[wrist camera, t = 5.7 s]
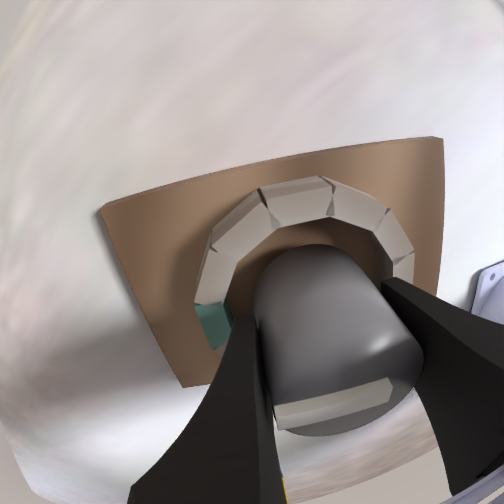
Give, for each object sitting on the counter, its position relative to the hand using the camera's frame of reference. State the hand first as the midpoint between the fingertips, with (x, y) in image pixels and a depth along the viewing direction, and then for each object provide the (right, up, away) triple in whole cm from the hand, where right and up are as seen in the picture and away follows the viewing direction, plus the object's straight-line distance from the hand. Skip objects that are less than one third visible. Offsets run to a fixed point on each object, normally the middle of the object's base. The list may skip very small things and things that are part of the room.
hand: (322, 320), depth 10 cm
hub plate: (0, +1, +3) cm, 3 cm away
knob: (0, +1, +2) cm, 2 cm away
